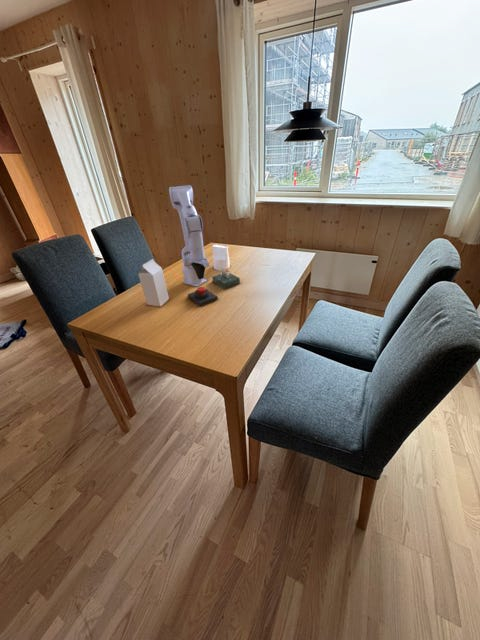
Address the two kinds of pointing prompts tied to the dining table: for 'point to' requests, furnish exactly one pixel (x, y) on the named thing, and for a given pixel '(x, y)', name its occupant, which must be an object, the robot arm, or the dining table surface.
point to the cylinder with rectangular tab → (220, 257)
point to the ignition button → (201, 290)
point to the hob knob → (225, 273)
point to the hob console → (226, 280)
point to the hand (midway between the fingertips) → (200, 278)
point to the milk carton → (153, 284)
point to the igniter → (202, 297)
